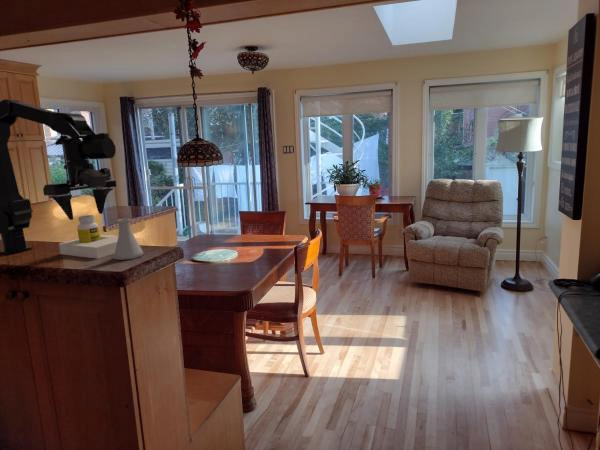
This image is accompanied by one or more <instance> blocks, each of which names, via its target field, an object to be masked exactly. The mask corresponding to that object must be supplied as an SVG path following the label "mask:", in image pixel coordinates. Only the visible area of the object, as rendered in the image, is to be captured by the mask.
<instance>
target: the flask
mask: <svg viewBox="0 0 600 450" xmlns="http://www.w3.org/2000/svg"><path fill="white" fill-rule="evenodd" d="M116 223H117V224H118V235H117V236H118V241H117V245H116V249H115V253H114V254H113V260H117V261H118V260H119V261H122V260H123V261H125V260H132V259H133V260H134V259H136V258H140V257H142V256H143V255H144V251H143V249H142V247H141V245H140V244H139V243H138V241H137V239H136V237H135V235H134V233H133V230H132V226H131V218H126V217H125V218H120V219H117V220H116Z"/></svg>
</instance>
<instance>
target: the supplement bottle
mask: <svg viewBox="0 0 600 450" xmlns="http://www.w3.org/2000/svg"><path fill="white" fill-rule="evenodd" d="M95 221H96V220H95V215H93V214H89V215H82V216H81V215H80V216H78V223H79V224H78V225H77V227H76V228H77V229H76V230H77V235H78V239H79V243H90V242H94V241H98V240H100V227H99V224H98V223H97V222H95Z"/></svg>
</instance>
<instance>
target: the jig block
mask: <svg viewBox="0 0 600 450" xmlns="http://www.w3.org/2000/svg"><path fill="white" fill-rule="evenodd" d="M99 234H100V233H99ZM118 236H119V235H109V234H100V240H98V241H94V242H90V243H79V238H76V239H73V240H67V241H65V242H60V243H58V245H59V250H60V255H65V256H74V257H82V258H90V259H96V260H98V259H101V258H105V257H108V256H111V255H114V253H115V249H116V245H117V241H118Z"/></svg>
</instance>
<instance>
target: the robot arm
mask: <svg viewBox="0 0 600 450" xmlns="http://www.w3.org/2000/svg"><path fill="white" fill-rule="evenodd" d="M19 118H21V119H24V120H28V121H31V122H33V123H38V124H41V125H45V126H47V127H48V128H49V129H51V130H52V131H54V132H56V133H58V134H60V135H59V138H58V139H57V140H56V141H55V145H56V146H58V145H59V146H60V145H62V146H63V152H64V158H65V164H64V165H63V169H64V170H67V176H68V179H67V180H66V181H65V182H64V183H63V182H56V183H50V184H45V185H44V186H43V188H42V192H43V196H49V199H53V200H54V201H55V202H56V204H58V206H59V207H60V209H62V210H63V213H64V214H65V215H66V217H67V218H68V220H70V221H73V220H74V212H73V208H72V202H71V200H72V197H73V194H70V192H71V191H72V192H73V191H77V190H78V191H79V190H85V189H91V190H92V194H93V198H94V201H95V206H96V208H97V212H98V214H100V215H102V214H103V213H104V209H105V204H106V200H107V197H108V195H109V193H110V192H111V191H113V190H114V188H116V187H118V185H117V181H116V179H115V177H113V176H112V173H111V170H110V168H108V167H101V168H100V169H95V165H94V164H93V163H90V160H107V159H109V160H110V159H113V158H114V157H115V155H116V145H115V143H114V141H113V139H112V138H110V137H109V136H110V135H109V133H108V132H101V133H96V132H95V131H94V129H93V128H92V127H91V126H90V124H89V123H88V122H87V120H86V117H85V116H84V115H83V114H79V113H70V112H58V111H53V110H49V109H46V108H42V107H39V106H35V105H31V104H29V103H25V102H21V101H20V100H17V99H5V98H4V99H2V100H0V239H1V244H2V249H1V250H0V254H8V255H12V254H15V253H20V252H24V251H28V250H32V249H33V247H32V246H27V244H26V238H25V237H26V236H25V234H24V229H28V228H30V224H31V219H32V217H33V215H32V214H33V212H34V210H33V208H32V206H31V200H30V198H24V197H23V195H21V194H20V191H19V186H18V183H17V180H16V179H17V178H16V176H15V171H14V167H13V163H12V157H11V154H10V150H9V146H8V143H9V140H10V137H11V127H12V126H13V125H15V124H16V123H17V121H18V119H19Z"/></svg>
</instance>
